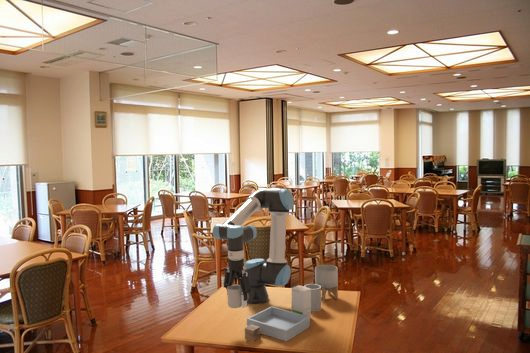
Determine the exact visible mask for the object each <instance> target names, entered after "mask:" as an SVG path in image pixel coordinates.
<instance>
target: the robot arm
mask: <svg viewBox="0 0 530 353" xmlns="http://www.w3.org/2000/svg"><path fill="white" fill-rule="evenodd" d="M294 204H295V202H294V196H293V193H292V192H291V190H290V189H289V188H288V189H287V188H270V187H265V188H260V189H257V190H256V191H255V192H253V193H250V195H249V196H248V197H247V198H245V202H244V203H243V204H242V205H241V206H240V207H239V208H238V209H236V210H235V212H233V213H232V214H231V215H230V216H229V217H228V218H227V219H226V220H225V221H224V222H223V223H218V224H217V223H216V224H215V225H214V226H213V227H212V228H213V229H212V236H213V238H214V239H218V240H224V241H225V240H226V242H227V258H228V259H227V265H228V267H225V268H224V278H223V288H225V289H226V290H227V287H228V286H230V285H234V281H235V279H236V280H237V281H238V283H239V284H238V285H240V287H241V289H242V293H243V294H242V306H241V308H242V309H244V308H246V307H247V306H248V304H251V305H258V304H259V305H260V304H263V303H267V302H268V301H269V293H268V291H267V287H266V285H270V286H271V285H273V286H276V287H284V286H286V285H287V283H288V282H289V281H290V277H291V271H292V269H291V266H290V265H288V260H286V258H285V256H286V255H285V254H286V252H285V251H286V234H287V233H286V231H287V229H286V228H287V216H288V214H290V210H292V209H293V208H294ZM261 209H268V213H269V214H270V234H269V236H270V238H269V254H268V255H269V257H268V258H267V259H266V260H265V259H264V258H253V259H248V260H247V261H245V259H244V257H245V254H244V253H245V251H244V244H245V243H246V244H247V243H248V242H251V241H253V240H254V239H255V238H256V237H257V234H258V231H257V229H256V227H255V226H254V225H251V224H247V225H244V223H245V222H247V221H248V219H250V217H252V215H254V213H255V212H259V211H260V210H261ZM243 225H244V226H243ZM226 296H227V297H228V295H226Z"/></svg>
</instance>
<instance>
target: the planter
mask: <svg viewBox="0 0 530 353" xmlns="http://www.w3.org/2000/svg"><path fill="white" fill-rule="evenodd" d="M338 271H339V270H338V267H337V266H336V265H334V264H333V265H332V264H320V265H319V264H318V265H316V266H315V267H314V282H315V283H314V284H317V285H320V286H321V302H323V301H325V302H326V296H327V295H328V296H331V295H332V294H333V296H334V300H335V299H337V300H338V299H339V297H338V296H339V292H338V290H339V287H338V285H339V282H338V281H339V277H338V275H339V274H338Z"/></svg>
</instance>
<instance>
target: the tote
mask: <svg viewBox="0 0 530 353" xmlns="http://www.w3.org/2000/svg"><path fill="white" fill-rule="evenodd" d="M310 322H311V317H309V316H305V315H301V314H298V313H294V312H291V310H287V309H284V308H280V307H276V306H273V305H271V306H269V307H268V308H266V309H263V310H261V311H259V312H257V313H255V314H253V315H251V316H249V317H247V318H246V327H248V326H250V325H255V326H258V327H260V334H262V335H265V336H269V337H272V338H274V339H278V340H281V341H284V342H288V341H289V340H291V339H293V338H294V337H296V336H297V335H299V334H301V333H302V332H304V331H305V330H307V329H309V328H310V326H311V323H310Z"/></svg>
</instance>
